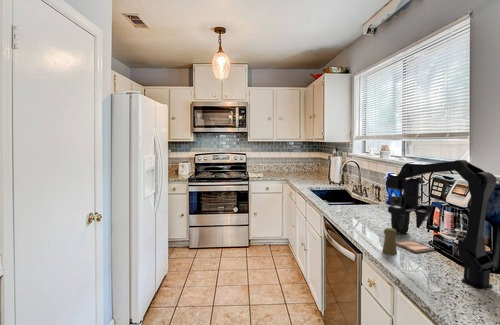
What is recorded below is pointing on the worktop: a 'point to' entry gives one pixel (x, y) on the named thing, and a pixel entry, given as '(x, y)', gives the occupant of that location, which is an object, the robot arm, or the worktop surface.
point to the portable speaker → (395, 224)
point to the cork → (390, 241)
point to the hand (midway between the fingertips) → (409, 228)
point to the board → (416, 246)
